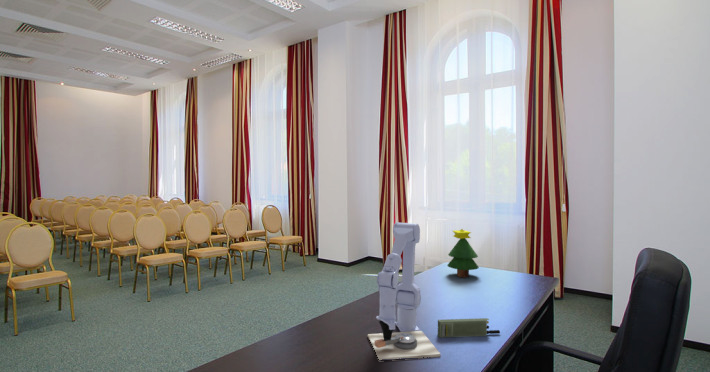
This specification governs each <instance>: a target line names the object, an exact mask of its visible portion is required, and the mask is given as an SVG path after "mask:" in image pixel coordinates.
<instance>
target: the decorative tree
mask: <svg viewBox="0 0 710 372" xmlns="http://www.w3.org/2000/svg"><path fill="white" fill-rule="evenodd" d="M452 232H453V233H454V235H452V237H454V238H456V239H459V240H458V241H457V243H456V244H455V245H454V246H453V248H452V249H451V250H450V252H449V253H448V256H449V257H452V259H450V261H449V262H448V264H447V266H446V267H447V268H451V269H454V270H456V277H458V276H459V278H469V277H470V271H473V270H478V269H479V265H478V264H477V263H476V261H475V260H474V259H476V258H478V257H479V256H478V254H477V252H476V251H475V250H474V249H473V247H472V245H471V244H470V242H469V241H468V239H471V237H470V234H471V233H472V232H471V231H468V230H465V229H463V228H461V229H460V230H456V229H455V230H452Z"/></svg>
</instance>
